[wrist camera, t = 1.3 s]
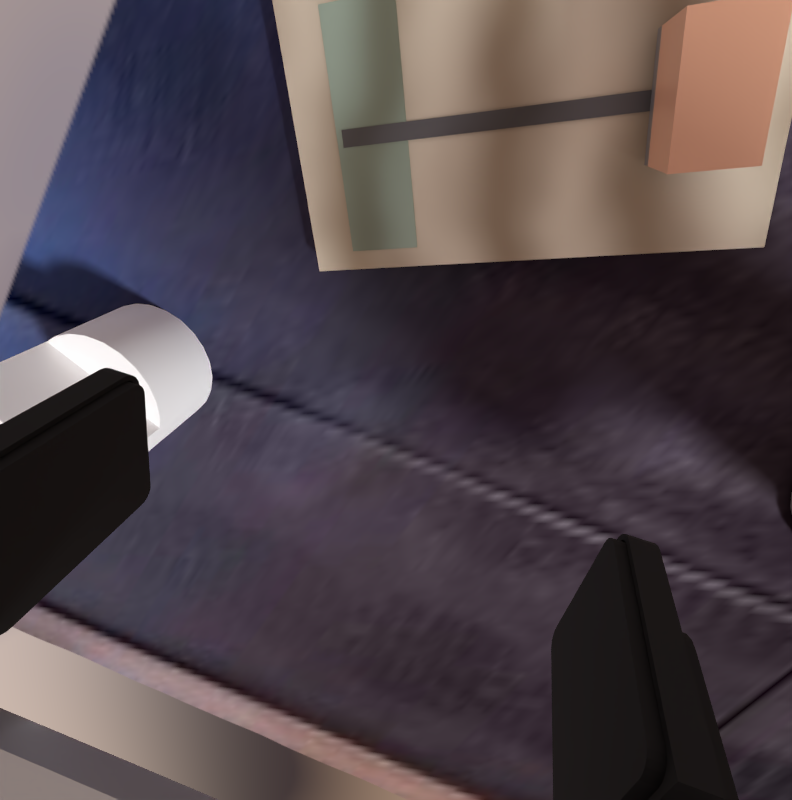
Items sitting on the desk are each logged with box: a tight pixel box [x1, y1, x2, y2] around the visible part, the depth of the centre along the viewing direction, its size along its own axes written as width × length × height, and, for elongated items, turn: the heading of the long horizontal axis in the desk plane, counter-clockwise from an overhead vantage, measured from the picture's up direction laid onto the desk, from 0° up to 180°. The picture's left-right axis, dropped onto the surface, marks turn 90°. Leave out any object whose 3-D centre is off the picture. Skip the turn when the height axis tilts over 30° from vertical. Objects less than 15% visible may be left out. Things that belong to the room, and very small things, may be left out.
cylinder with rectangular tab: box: [0, 304, 212, 451], centre depth 33 cm, size 9×9×12 cm
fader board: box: [272, 0, 792, 271], centre depth 24 cm, size 22×13×2 cm, turn 97°
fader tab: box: [644, 0, 792, 174], centre depth 19 cm, size 3×5×5 cm, turn 7°
